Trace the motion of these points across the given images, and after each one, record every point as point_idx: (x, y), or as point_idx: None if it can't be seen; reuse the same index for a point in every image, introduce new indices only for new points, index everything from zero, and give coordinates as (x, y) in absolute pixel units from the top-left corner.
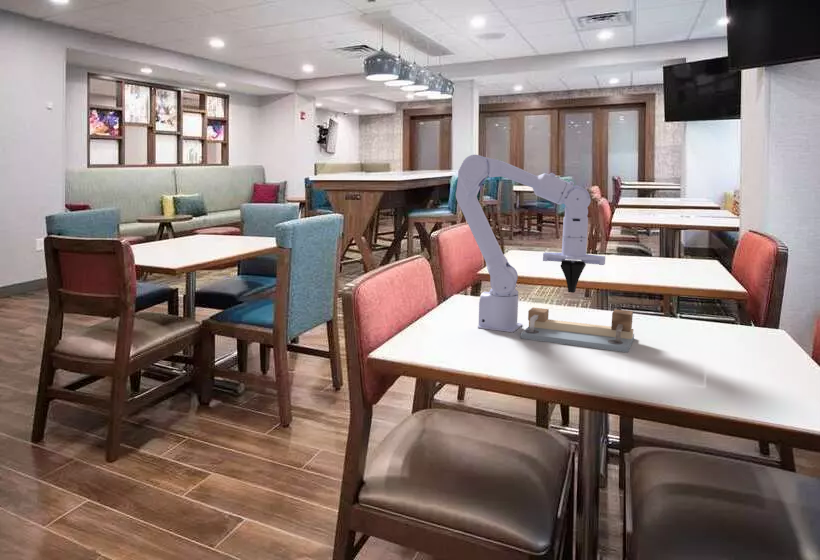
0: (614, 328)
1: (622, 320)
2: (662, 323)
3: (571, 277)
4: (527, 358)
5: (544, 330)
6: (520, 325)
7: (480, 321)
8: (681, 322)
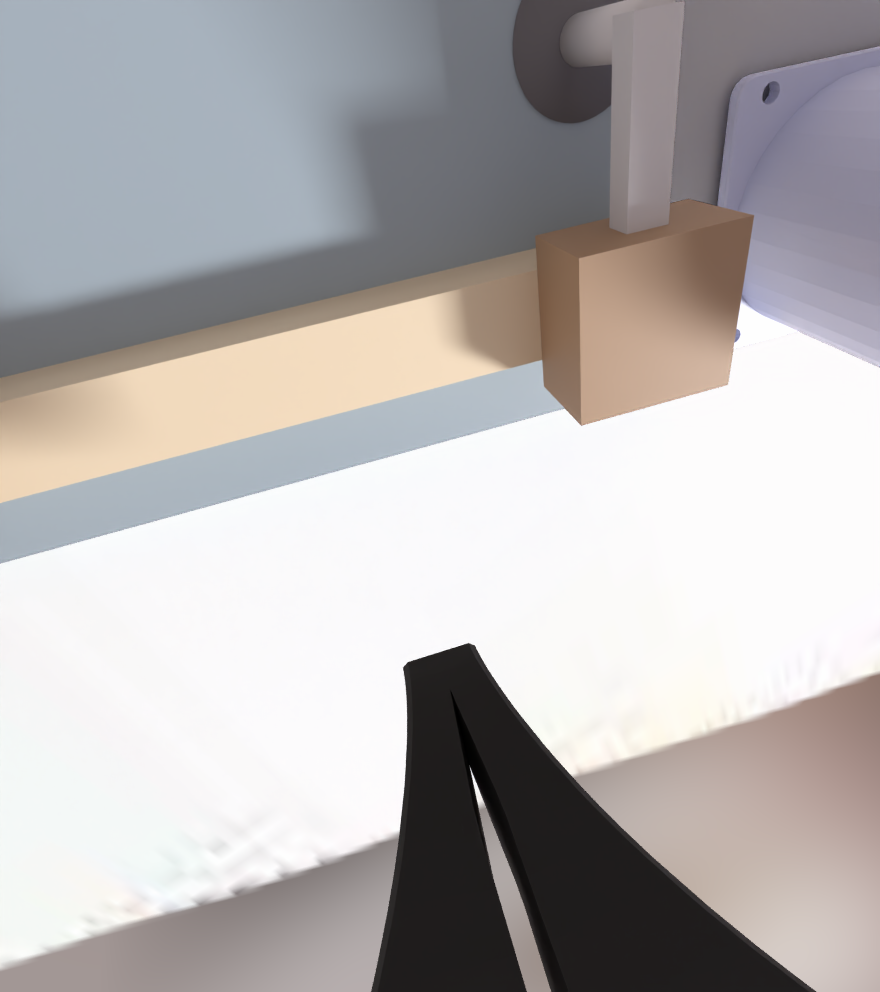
0: None
1: None
2: (70, 867)
3: (519, 871)
4: None
5: (492, 184)
6: None
7: None
8: (20, 921)
